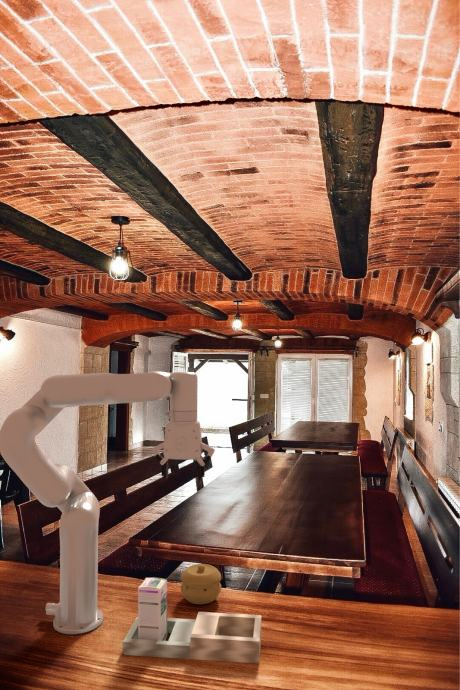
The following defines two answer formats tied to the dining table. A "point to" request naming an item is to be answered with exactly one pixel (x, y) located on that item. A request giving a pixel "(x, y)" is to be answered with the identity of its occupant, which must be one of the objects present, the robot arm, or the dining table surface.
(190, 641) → the rack
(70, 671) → the dining table surface
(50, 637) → the dining table surface
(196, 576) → the beige rounded piece
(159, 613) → the syrup box
